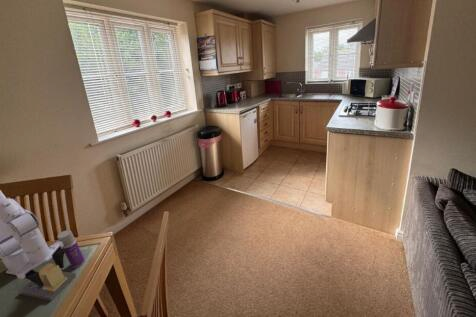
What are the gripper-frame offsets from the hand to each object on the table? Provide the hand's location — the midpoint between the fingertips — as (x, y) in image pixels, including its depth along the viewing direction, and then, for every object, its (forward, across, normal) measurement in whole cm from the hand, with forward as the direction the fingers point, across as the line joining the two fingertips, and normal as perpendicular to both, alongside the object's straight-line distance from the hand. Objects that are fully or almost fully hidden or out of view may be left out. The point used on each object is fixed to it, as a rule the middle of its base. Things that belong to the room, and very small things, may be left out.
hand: (51, 276), depth 84 cm
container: (+6, +10, +2) cm, 12 cm away
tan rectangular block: (+4, 0, 0) cm, 4 cm away
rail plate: (+5, 0, +4) cm, 6 cm away
